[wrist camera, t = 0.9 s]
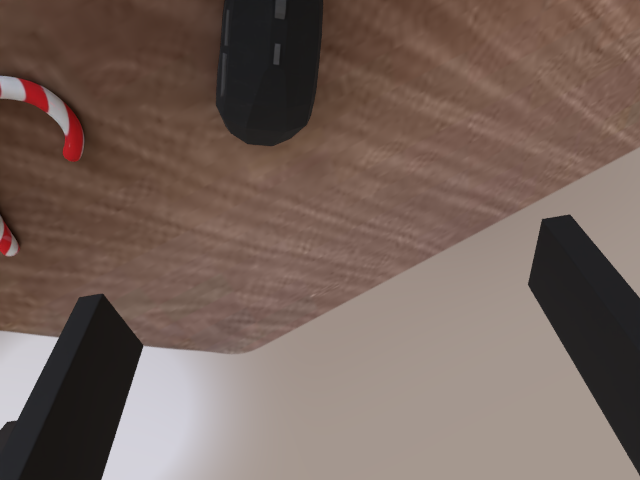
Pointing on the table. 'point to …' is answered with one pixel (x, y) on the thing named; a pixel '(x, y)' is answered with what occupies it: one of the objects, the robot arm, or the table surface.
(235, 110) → the gaming mouse
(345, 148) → the table surface
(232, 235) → the table surface
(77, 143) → the candy cane
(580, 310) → the robot arm
